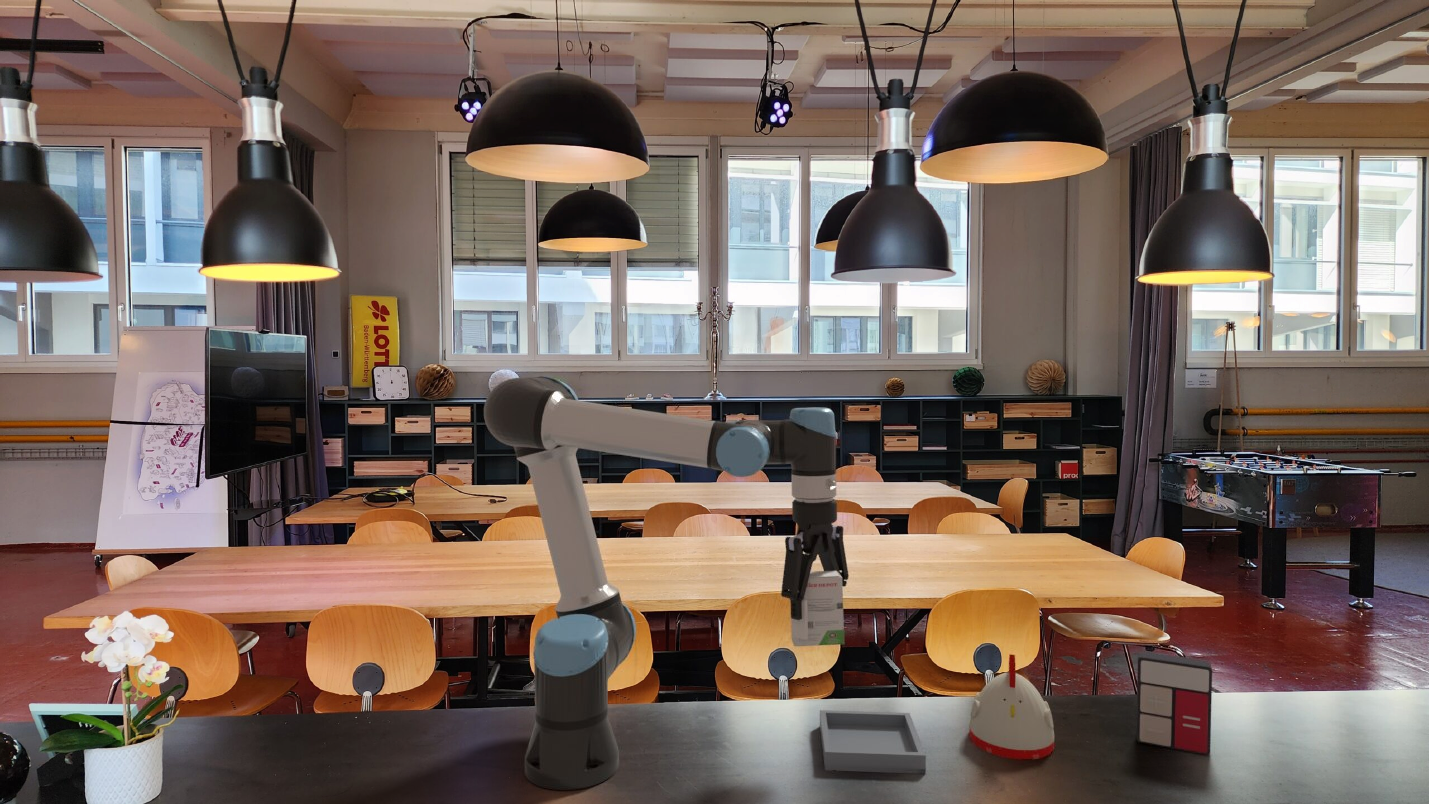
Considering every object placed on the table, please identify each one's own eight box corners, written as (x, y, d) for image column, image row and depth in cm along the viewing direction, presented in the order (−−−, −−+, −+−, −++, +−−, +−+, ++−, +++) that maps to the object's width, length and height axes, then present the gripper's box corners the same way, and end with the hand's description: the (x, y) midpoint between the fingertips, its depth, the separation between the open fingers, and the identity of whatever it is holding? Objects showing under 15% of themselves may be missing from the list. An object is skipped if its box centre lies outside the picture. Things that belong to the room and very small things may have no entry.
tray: (824, 769, 131) (824, 751, 130) (819, 726, 146) (819, 710, 146) (925, 773, 129) (925, 755, 129) (909, 729, 145) (909, 712, 145)
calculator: (1136, 743, 139) (1137, 658, 139) (1136, 733, 143) (1137, 650, 143) (1210, 757, 134) (1212, 669, 134) (1208, 747, 138) (1210, 660, 137)
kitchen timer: (968, 752, 137) (969, 665, 136) (970, 718, 150) (971, 639, 149) (1057, 765, 132) (1058, 674, 132) (1051, 729, 145) (1052, 647, 145)
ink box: (839, 635, 140) (838, 568, 140) (844, 645, 135) (843, 575, 135) (790, 637, 140) (788, 570, 140) (793, 647, 135) (792, 577, 135)
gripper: (793, 510, 126) (796, 652, 127) (867, 492, 142) (870, 618, 143) (756, 505, 131) (759, 642, 132) (832, 488, 147) (834, 611, 148)
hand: (817, 629), depth 138 cm, fingers closed on ink box, 9 cm apart
